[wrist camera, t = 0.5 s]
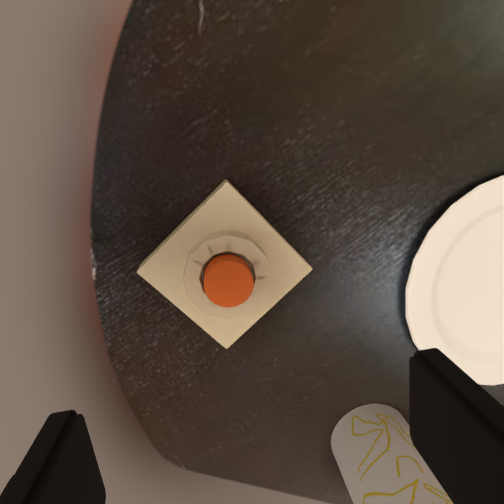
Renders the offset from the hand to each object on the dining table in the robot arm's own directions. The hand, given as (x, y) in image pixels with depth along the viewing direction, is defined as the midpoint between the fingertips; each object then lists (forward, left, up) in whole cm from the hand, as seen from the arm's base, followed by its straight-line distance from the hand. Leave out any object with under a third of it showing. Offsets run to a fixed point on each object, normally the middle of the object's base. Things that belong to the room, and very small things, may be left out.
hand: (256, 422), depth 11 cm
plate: (+22, +16, -22) cm, 35 cm away
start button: (+2, -1, -18) cm, 19 cm away
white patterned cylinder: (+26, -4, -22) cm, 34 cm away
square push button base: (+2, -1, -22) cm, 22 cm away
